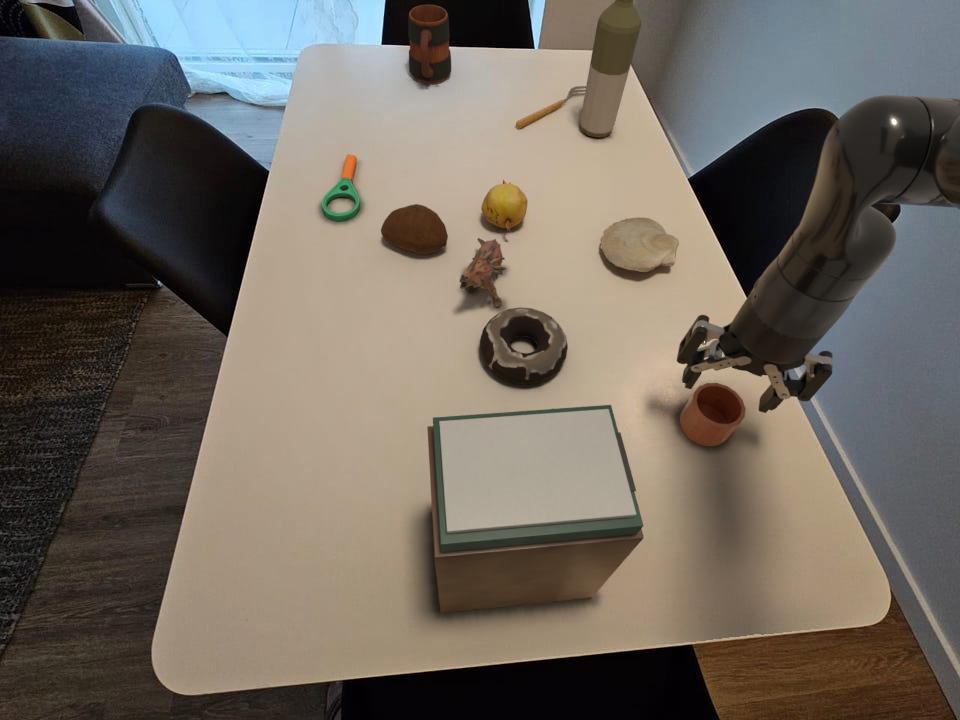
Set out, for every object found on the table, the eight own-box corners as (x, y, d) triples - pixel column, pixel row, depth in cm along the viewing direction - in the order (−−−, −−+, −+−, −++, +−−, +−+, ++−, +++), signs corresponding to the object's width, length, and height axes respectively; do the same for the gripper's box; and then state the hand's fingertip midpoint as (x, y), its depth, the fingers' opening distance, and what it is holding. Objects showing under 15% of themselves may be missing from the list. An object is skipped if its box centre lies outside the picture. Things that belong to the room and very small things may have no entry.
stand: (572, 497, 66) (610, 412, 50) (592, 597, 60) (644, 538, 43) (434, 509, 65) (427, 426, 48) (440, 613, 58) (434, 557, 42)
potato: (389, 223, 91) (385, 187, 86) (453, 233, 91) (453, 198, 85) (377, 253, 87) (372, 218, 82) (443, 264, 87) (442, 229, 81)
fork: (522, 124, 106) (593, 85, 113) (515, 117, 106) (587, 79, 114) (518, 134, 108) (589, 95, 116) (512, 128, 108) (583, 89, 116)
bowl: (731, 412, 73) (747, 392, 69) (726, 453, 70) (742, 434, 66) (683, 397, 75) (696, 376, 70) (676, 436, 71) (689, 417, 67)
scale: (607, 416, 49) (613, 400, 47) (638, 534, 44) (647, 523, 41) (433, 428, 48) (432, 413, 46) (441, 552, 42) (440, 542, 40)
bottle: (614, 121, 110) (660, -61, 85) (613, 143, 106) (661, -42, 81) (578, 117, 110) (613, -66, 86) (576, 138, 106) (612, -47, 82)
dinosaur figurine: (499, 322, 81) (504, 277, 73) (458, 317, 81) (459, 271, 73) (509, 254, 88) (514, 207, 81) (472, 249, 89) (473, 202, 81)
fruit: (534, 216, 85) (532, 173, 91) (490, 205, 84) (491, 162, 89) (518, 247, 91) (517, 205, 96) (477, 238, 89) (478, 195, 95)
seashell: (584, 241, 91) (587, 227, 88) (643, 220, 94) (648, 206, 92) (626, 291, 85) (631, 277, 83) (688, 266, 88) (694, 253, 86)
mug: (404, 92, 113) (399, 31, 104) (412, 61, 120) (409, 1, 110) (447, 96, 113) (446, 35, 103) (453, 64, 120) (453, 4, 110)
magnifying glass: (357, 222, 91) (355, 214, 90) (319, 220, 91) (317, 212, 90) (369, 163, 100) (368, 155, 99) (335, 162, 100) (333, 153, 98)
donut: (471, 326, 80) (472, 308, 77) (551, 314, 82) (555, 296, 78) (489, 396, 74) (491, 379, 70) (576, 381, 75) (581, 364, 72)
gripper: (711, 311, 52) (659, 400, 66) (874, 358, 50) (785, 441, 63) (720, 257, 56) (669, 351, 70) (872, 298, 54) (789, 388, 67)
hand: (725, 394), depth 66 cm, fingers open, 8 cm apart
